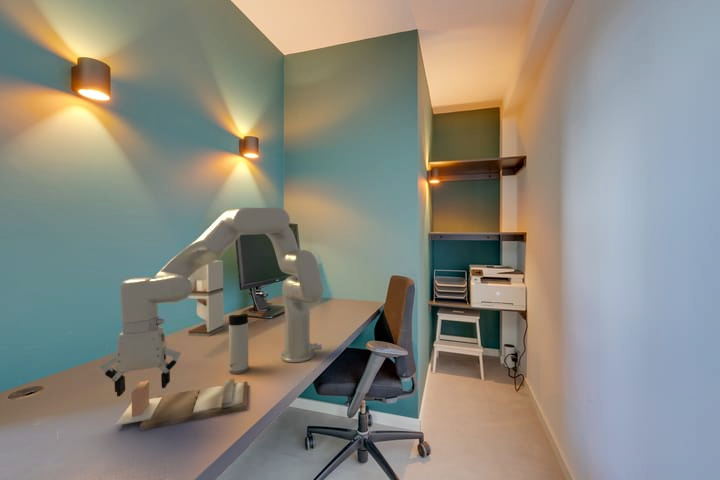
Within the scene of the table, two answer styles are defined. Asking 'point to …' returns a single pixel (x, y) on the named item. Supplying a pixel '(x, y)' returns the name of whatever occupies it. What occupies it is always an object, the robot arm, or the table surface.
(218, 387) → the ticket board
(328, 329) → the table surface
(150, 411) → the stub
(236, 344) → the travel mug
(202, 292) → the display case
